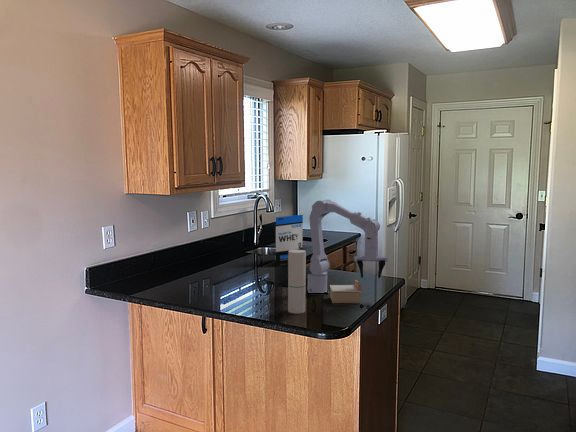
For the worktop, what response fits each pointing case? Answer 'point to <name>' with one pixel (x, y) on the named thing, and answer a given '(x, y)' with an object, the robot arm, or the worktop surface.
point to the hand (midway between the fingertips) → (370, 277)
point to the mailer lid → (346, 287)
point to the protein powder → (288, 237)
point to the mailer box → (345, 297)
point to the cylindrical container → (296, 281)
